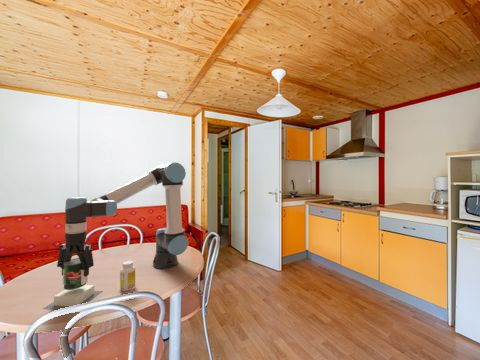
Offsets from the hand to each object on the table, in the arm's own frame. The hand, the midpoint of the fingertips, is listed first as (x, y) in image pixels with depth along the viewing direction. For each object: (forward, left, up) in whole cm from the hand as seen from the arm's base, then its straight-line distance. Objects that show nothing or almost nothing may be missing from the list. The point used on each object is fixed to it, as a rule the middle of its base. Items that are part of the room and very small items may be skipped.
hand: (75, 282), depth 93 cm
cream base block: (0, 0, -8) cm, 8 cm away
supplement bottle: (-17, -12, -8) cm, 22 cm away
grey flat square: (0, 0, -8) cm, 8 cm away
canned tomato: (0, 0, -1) cm, 1 cm away
